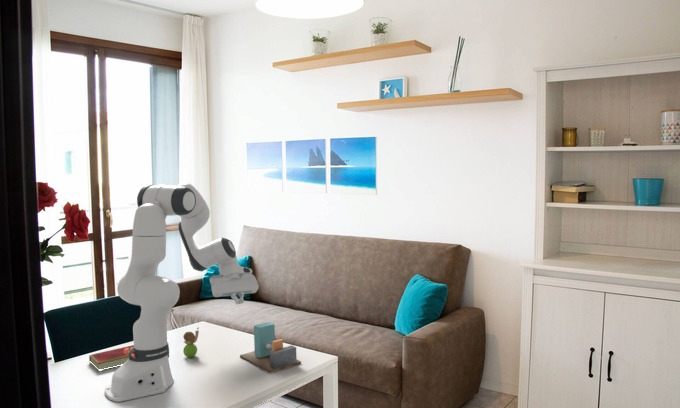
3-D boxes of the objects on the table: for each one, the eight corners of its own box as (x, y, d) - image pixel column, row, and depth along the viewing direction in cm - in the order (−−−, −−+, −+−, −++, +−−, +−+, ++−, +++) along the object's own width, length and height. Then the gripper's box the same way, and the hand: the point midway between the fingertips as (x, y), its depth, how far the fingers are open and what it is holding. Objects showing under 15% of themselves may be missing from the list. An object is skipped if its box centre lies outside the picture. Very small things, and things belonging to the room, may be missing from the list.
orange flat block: (274, 363, 201) (274, 342, 201) (272, 361, 203) (271, 341, 202) (293, 357, 207) (293, 337, 206) (291, 356, 208) (290, 336, 208)
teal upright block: (262, 359, 205) (261, 328, 205) (254, 355, 210) (253, 325, 209) (277, 354, 210) (276, 325, 209) (269, 351, 214) (268, 322, 213)
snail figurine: (197, 359, 211) (196, 329, 210) (181, 359, 211) (180, 329, 210) (201, 354, 216) (200, 325, 215) (186, 354, 216) (184, 325, 215)
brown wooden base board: (269, 373, 195) (269, 370, 195) (240, 357, 212) (239, 354, 212) (300, 363, 204) (300, 360, 204) (269, 349, 221) (269, 346, 221)
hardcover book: (89, 364, 208) (89, 354, 208) (143, 351, 222) (142, 341, 222) (98, 373, 199) (97, 362, 199) (153, 359, 213) (153, 349, 212)
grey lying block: (274, 369, 196) (274, 353, 196) (270, 367, 198) (269, 351, 198) (296, 362, 203) (296, 347, 202) (292, 360, 205) (291, 345, 204)
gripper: (211, 272, 218) (219, 302, 212) (254, 268, 231) (264, 297, 225) (205, 280, 222) (214, 309, 216) (249, 276, 235) (258, 304, 229)
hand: (240, 303), depth 220 cm, fingers closed
